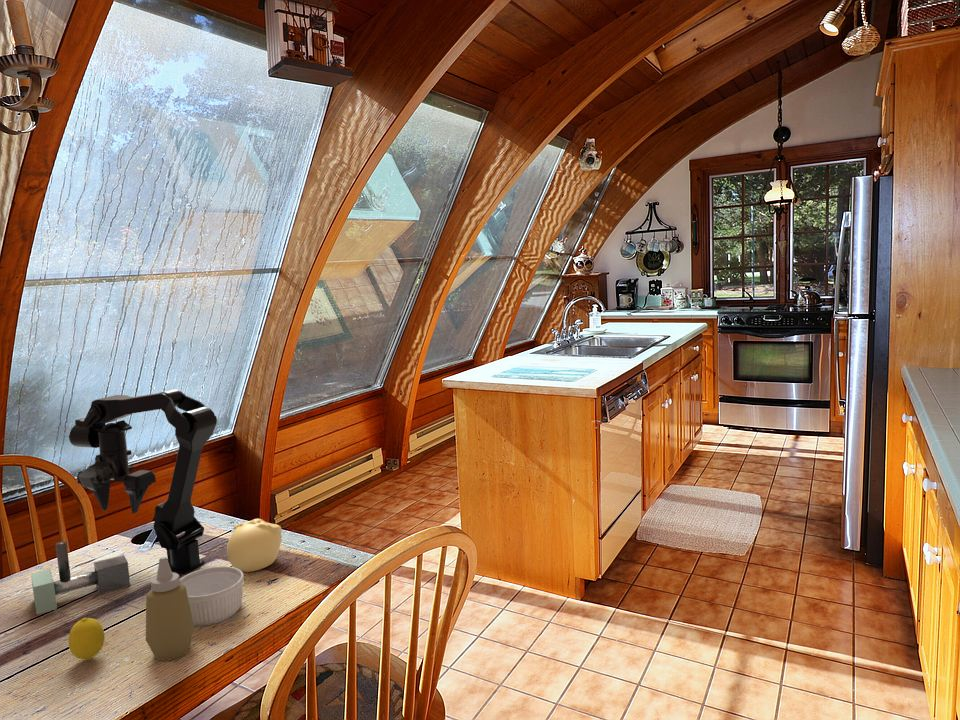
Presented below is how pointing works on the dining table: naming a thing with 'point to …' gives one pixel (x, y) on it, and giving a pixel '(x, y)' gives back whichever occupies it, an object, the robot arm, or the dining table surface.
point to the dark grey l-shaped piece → (66, 580)
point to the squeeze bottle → (168, 615)
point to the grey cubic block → (112, 574)
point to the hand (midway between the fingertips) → (119, 511)
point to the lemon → (86, 638)
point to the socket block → (43, 591)
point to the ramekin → (214, 593)
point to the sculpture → (254, 545)
